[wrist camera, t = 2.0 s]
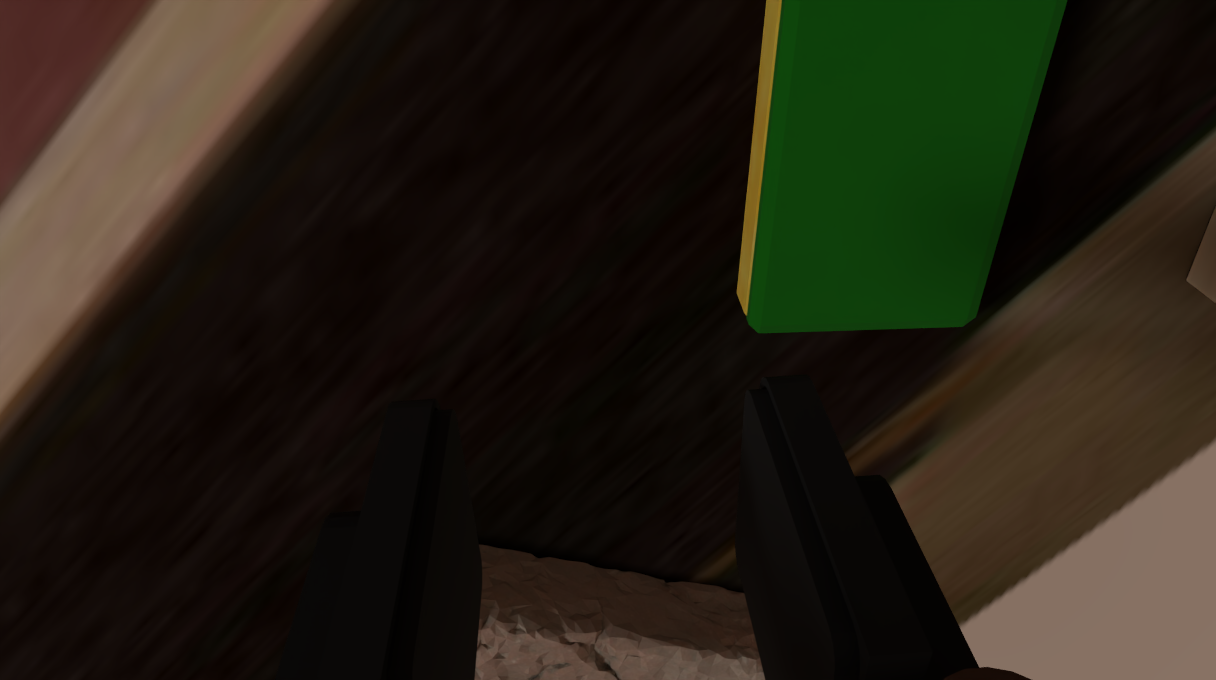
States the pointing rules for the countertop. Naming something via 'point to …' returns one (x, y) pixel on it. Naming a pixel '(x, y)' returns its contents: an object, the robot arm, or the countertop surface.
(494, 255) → the countertop surface
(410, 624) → the robot arm
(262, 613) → the countertop surface
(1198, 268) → the batten
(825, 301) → the dish sponge
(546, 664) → the brick
